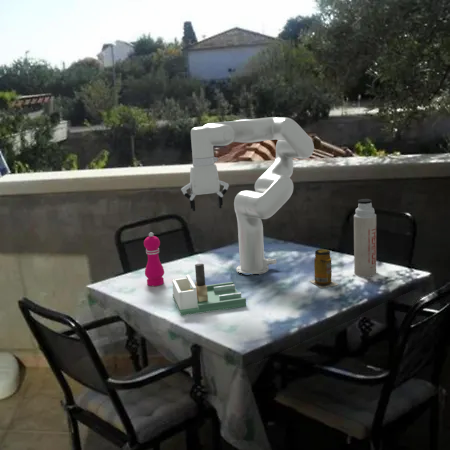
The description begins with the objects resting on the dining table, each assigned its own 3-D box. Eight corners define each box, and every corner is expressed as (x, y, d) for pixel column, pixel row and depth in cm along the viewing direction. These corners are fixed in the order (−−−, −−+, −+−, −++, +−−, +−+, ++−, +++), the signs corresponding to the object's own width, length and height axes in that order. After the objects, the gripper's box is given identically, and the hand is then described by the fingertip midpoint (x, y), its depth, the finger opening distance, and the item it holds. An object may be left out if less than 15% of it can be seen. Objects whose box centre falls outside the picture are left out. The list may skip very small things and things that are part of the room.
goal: (190, 293, 223) (188, 274, 221) (197, 307, 209) (196, 287, 208) (173, 295, 221) (171, 276, 220) (179, 309, 208) (178, 289, 206)
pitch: (233, 288, 228) (232, 281, 227) (246, 306, 211) (245, 298, 210) (172, 297, 224) (172, 289, 223) (181, 315, 207) (180, 307, 206)
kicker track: (234, 289, 224) (234, 284, 223) (241, 298, 215) (241, 293, 214) (213, 292, 222) (213, 287, 222) (219, 301, 213) (219, 296, 213)
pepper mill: (162, 286, 235) (157, 234, 230) (143, 286, 236) (138, 235, 231) (167, 280, 242) (163, 229, 237) (149, 280, 243) (144, 229, 238)
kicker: (204, 294, 220) (202, 261, 217) (207, 300, 214) (205, 266, 211) (195, 295, 219) (193, 262, 216) (199, 301, 213) (196, 268, 210)
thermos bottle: (380, 273, 234) (380, 199, 227) (363, 278, 231) (363, 203, 224) (366, 268, 241) (366, 196, 234) (349, 272, 237) (349, 199, 231)
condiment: (327, 278, 233) (326, 247, 230) (338, 285, 226) (338, 252, 223) (309, 281, 231) (308, 250, 228) (320, 288, 223) (319, 256, 220)
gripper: (224, 158, 230) (227, 204, 234) (177, 162, 226) (181, 209, 230) (229, 161, 222) (232, 208, 227) (181, 165, 219) (184, 213, 223)
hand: (206, 209), depth 228 cm, fingers open, 9 cm apart
